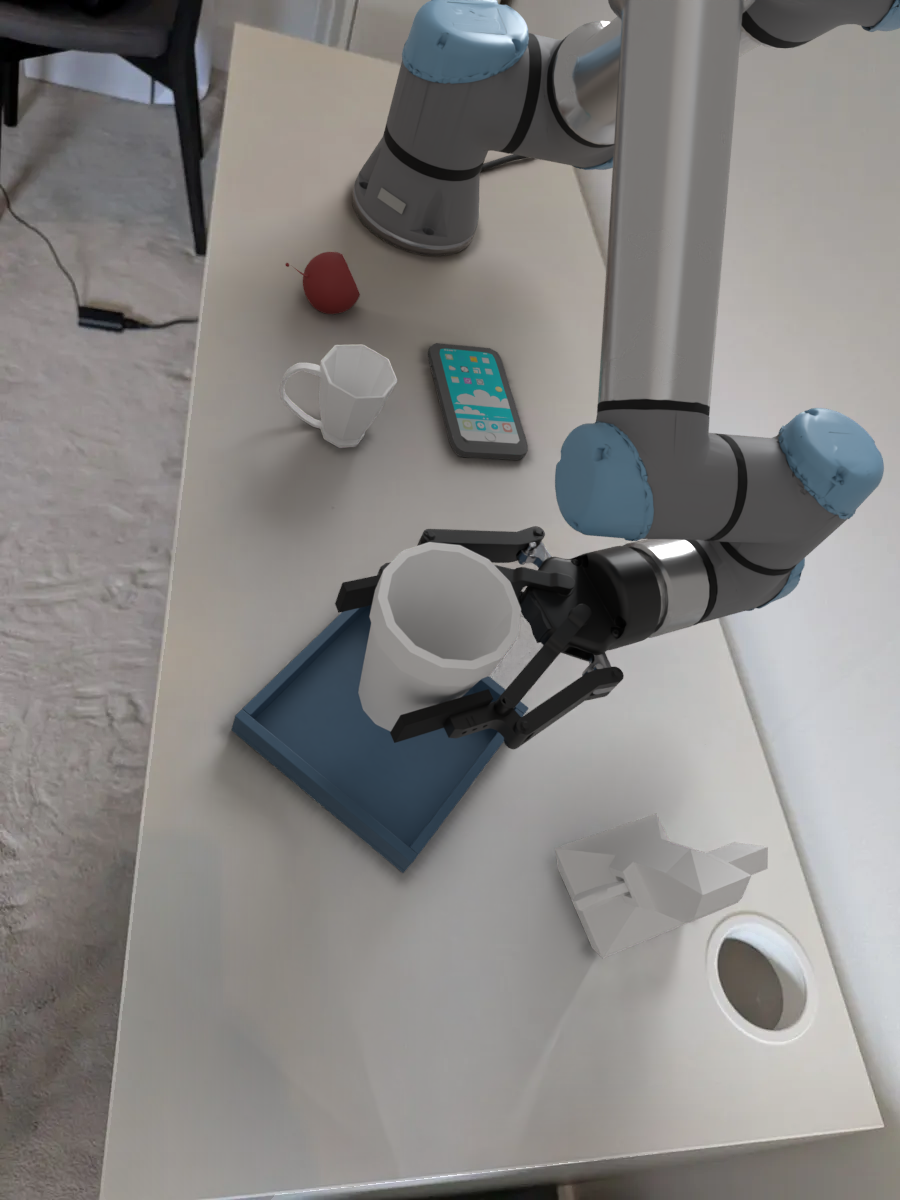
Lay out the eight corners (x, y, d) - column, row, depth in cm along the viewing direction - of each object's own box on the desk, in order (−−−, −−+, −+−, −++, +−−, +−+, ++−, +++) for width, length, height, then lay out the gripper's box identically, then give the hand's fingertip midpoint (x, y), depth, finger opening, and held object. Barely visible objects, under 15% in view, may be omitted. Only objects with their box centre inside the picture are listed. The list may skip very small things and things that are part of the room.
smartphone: (454, 450, 89) (426, 340, 96) (451, 456, 90) (424, 347, 97) (533, 454, 92) (500, 347, 99) (529, 460, 93) (497, 354, 100)
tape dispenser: (511, 870, 69) (586, 808, 58) (656, 819, 75) (749, 755, 64) (557, 982, 65) (646, 939, 54) (705, 920, 71) (812, 870, 61)
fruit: (302, 296, 99) (275, 242, 92) (350, 274, 99) (327, 219, 92) (319, 336, 96) (293, 284, 89) (368, 314, 96) (346, 260, 89)
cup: (374, 466, 86) (394, 407, 80) (268, 441, 84) (281, 379, 78) (380, 413, 90) (400, 353, 84) (279, 388, 88) (292, 324, 82)
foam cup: (324, 647, 68) (362, 548, 58) (438, 632, 72) (492, 536, 61) (357, 765, 64) (403, 680, 53) (475, 742, 67) (540, 659, 57)
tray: (364, 599, 78) (371, 583, 76) (517, 721, 76) (529, 707, 74) (230, 730, 68) (234, 715, 66) (402, 873, 66) (412, 863, 64)
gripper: (680, 739, 69) (418, 835, 58) (549, 509, 77) (301, 557, 67) (734, 695, 63) (453, 793, 52) (586, 451, 71) (319, 494, 61)
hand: (368, 661), depth 60 cm, fingers closed on foam cup, 9 cm apart
